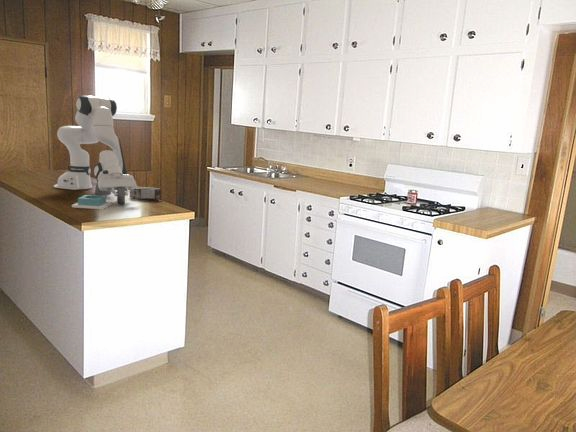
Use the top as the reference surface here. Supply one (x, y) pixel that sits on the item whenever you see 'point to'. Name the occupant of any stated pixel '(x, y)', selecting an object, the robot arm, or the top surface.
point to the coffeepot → (98, 191)
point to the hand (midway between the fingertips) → (121, 195)
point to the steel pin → (121, 195)
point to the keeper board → (92, 202)
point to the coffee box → (145, 193)
